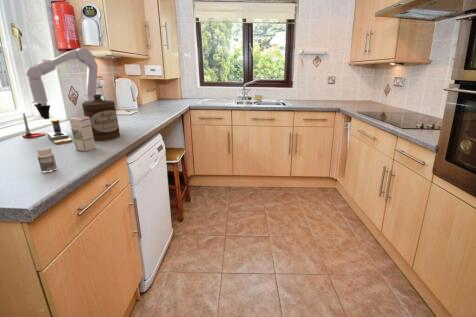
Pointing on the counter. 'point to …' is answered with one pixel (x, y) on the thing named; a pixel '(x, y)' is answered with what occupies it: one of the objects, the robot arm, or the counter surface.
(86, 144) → the syrup box
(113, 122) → the brown labelled jar
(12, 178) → the counter surface
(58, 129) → the pin
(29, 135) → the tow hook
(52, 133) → the slotted panel plate
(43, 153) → the pill bottle
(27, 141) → the counter surface
